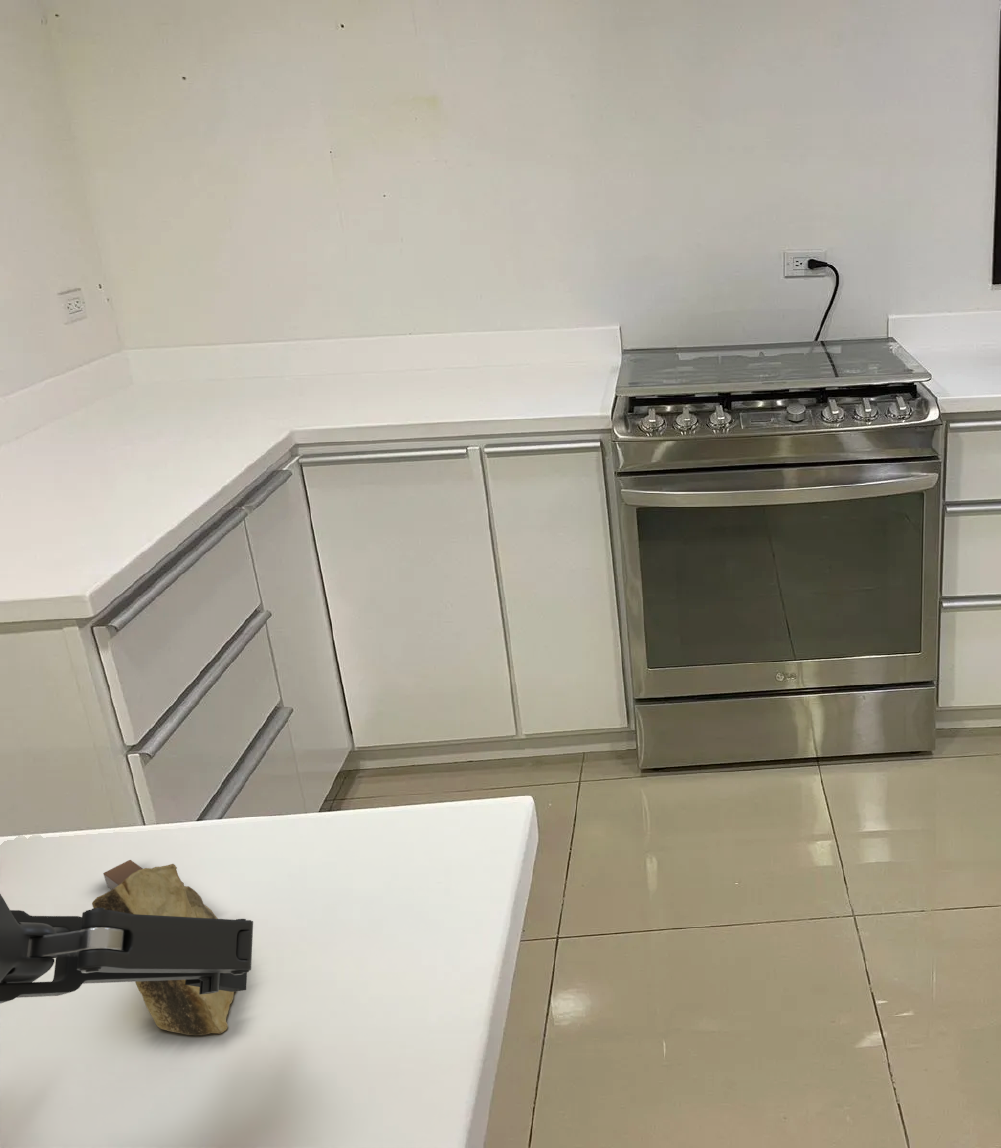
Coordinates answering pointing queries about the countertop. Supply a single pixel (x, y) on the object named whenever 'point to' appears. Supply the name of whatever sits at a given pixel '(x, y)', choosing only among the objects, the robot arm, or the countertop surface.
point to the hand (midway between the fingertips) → (116, 982)
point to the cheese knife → (120, 873)
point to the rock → (170, 998)
